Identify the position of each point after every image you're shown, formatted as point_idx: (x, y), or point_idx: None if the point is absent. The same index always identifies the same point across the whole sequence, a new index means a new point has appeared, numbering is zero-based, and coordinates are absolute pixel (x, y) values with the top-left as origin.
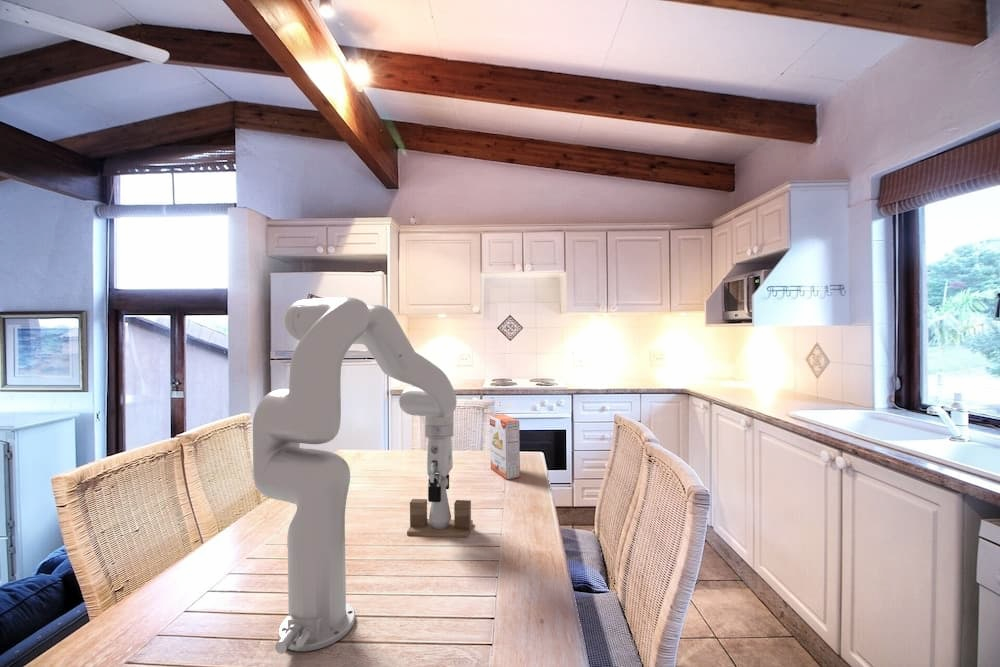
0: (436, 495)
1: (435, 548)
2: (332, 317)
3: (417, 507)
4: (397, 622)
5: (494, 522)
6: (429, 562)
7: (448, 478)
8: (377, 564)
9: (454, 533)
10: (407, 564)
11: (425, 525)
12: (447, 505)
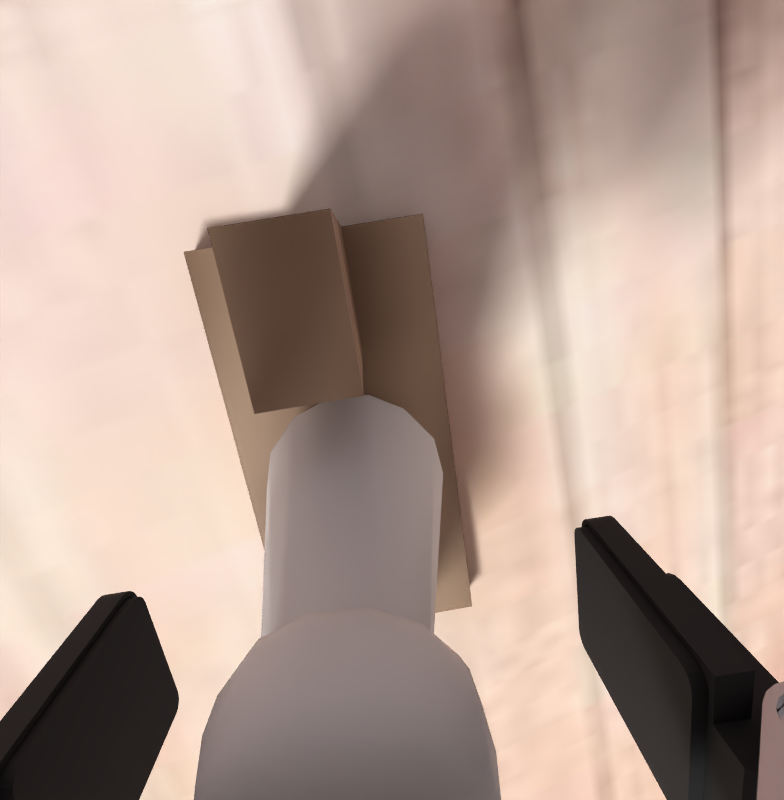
0: (702, 603)
1: (594, 375)
2: None
3: None
4: None
5: (97, 66)
6: (752, 343)
7: (36, 721)
8: (772, 578)
9: (435, 316)
10: (772, 447)
11: None
12: (370, 460)
